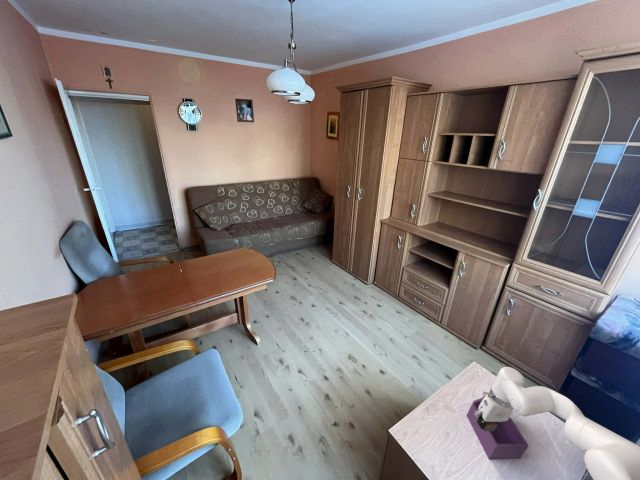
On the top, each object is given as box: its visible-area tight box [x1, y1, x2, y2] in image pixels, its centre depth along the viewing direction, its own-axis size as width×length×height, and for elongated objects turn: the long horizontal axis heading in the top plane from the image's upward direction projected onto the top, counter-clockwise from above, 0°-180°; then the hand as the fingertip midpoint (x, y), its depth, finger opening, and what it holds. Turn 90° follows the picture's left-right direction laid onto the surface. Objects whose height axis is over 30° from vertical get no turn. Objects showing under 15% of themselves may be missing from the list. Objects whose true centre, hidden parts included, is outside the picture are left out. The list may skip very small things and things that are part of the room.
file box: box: [466, 402, 530, 460], centre depth 118 cm, size 18×14×10 cm
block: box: [483, 421, 498, 431], centre depth 105 cm, size 4×4×4 cm
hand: (486, 424), depth 106 cm, fingers closed on block, 4 cm apart
